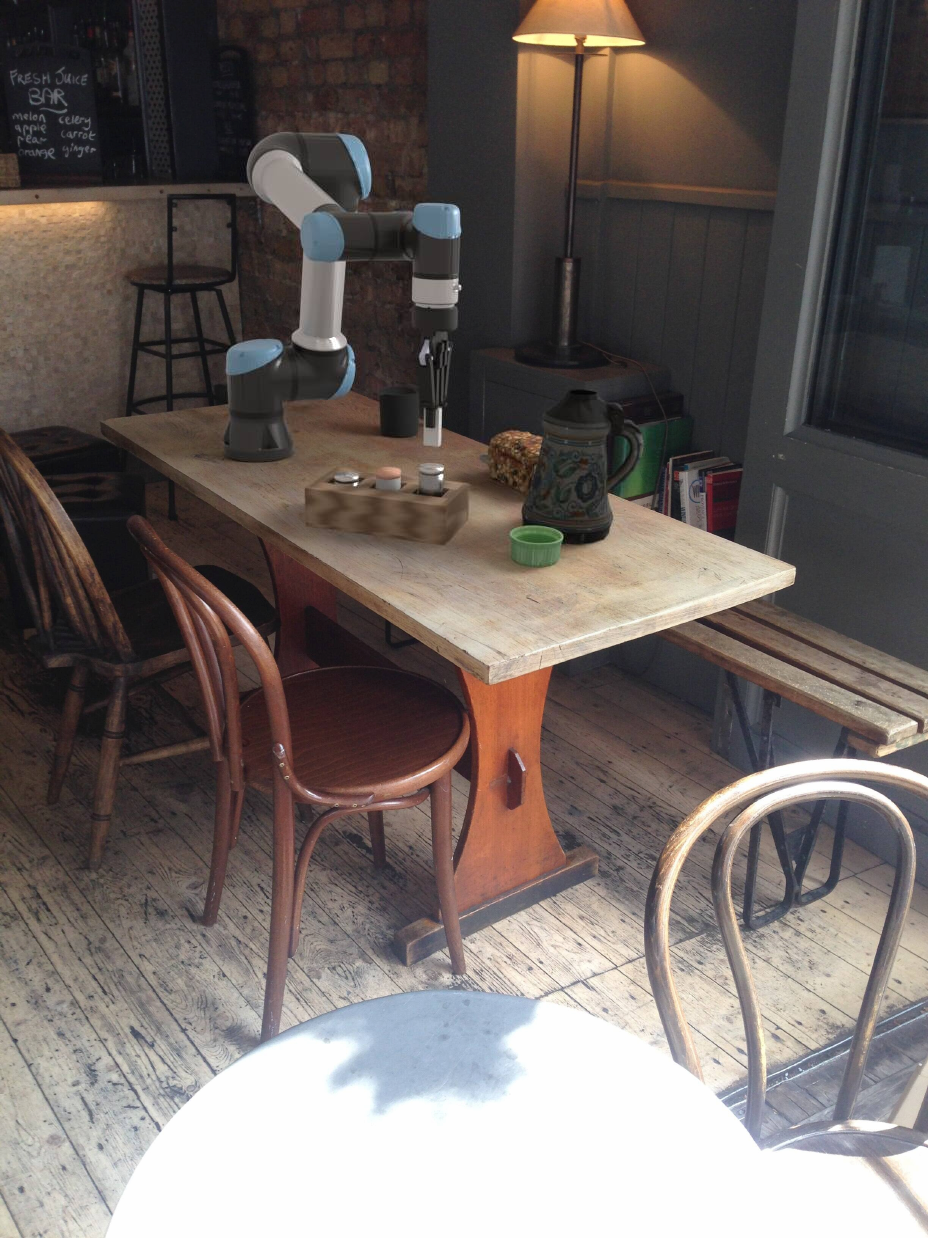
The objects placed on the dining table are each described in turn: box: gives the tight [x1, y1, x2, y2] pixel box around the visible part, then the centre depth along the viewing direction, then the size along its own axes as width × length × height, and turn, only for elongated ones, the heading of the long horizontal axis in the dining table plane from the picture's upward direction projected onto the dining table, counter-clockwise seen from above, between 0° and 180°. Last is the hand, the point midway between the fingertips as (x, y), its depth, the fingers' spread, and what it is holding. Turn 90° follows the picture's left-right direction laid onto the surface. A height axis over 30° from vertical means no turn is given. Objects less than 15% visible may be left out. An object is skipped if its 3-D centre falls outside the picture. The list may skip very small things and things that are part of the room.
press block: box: [304, 466, 471, 546], centre depth 196 cm, size 26×14×7 cm, turn 73°
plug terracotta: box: [375, 466, 402, 492], centre depth 195 cm, size 4×4×6 cm
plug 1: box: [334, 471, 359, 486], centre depth 197 cm, size 4×4×6 cm
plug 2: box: [418, 462, 445, 498], centre depth 192 cm, size 4×4×6 cm
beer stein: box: [520, 388, 644, 546], centre depth 193 cm, size 16×19×25 cm
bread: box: [487, 429, 543, 495], centre depth 219 cm, size 19×11×10 cm, turn 35°
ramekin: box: [508, 525, 563, 568], centre depth 183 cm, size 9×9×4 cm
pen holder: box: [378, 385, 420, 439], centre depth 253 cm, size 9×9×10 cm
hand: (432, 444), depth 189 cm, fingers closed
